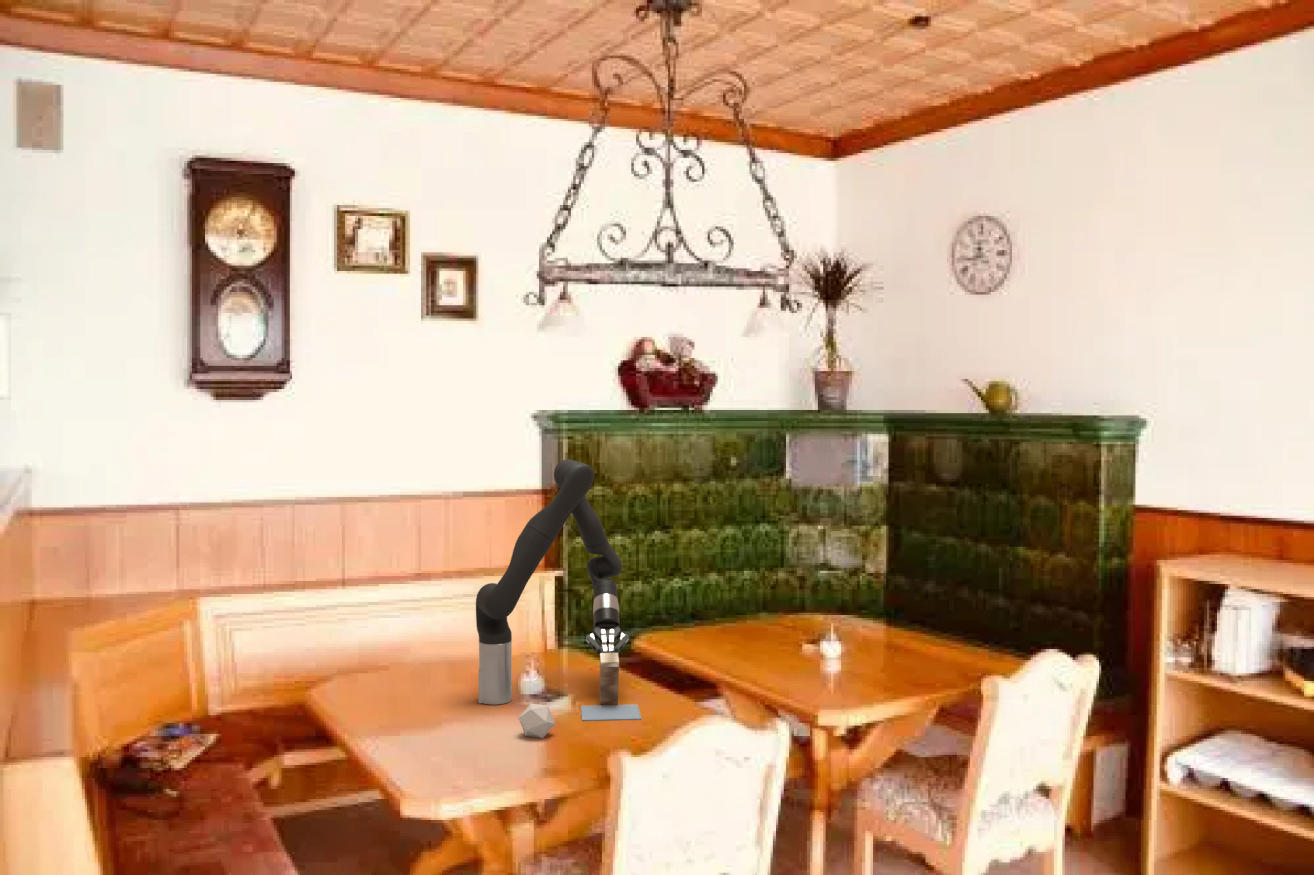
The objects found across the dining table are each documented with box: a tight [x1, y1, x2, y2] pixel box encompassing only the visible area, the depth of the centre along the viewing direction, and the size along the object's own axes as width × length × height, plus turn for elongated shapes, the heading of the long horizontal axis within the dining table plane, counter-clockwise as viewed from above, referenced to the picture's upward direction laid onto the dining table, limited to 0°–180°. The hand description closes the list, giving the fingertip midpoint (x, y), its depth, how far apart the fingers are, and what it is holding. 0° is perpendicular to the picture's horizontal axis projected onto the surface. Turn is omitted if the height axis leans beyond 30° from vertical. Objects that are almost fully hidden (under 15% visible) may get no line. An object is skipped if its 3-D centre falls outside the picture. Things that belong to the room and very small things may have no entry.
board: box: [580, 703, 642, 722], centre depth 313 cm, size 16×13×1 cm
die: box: [518, 703, 556, 739], centre depth 294 cm, size 8×9×10 cm
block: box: [598, 653, 620, 705], centre depth 320 cm, size 5×5×14 cm
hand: (608, 665), depth 322 cm, fingers closed
